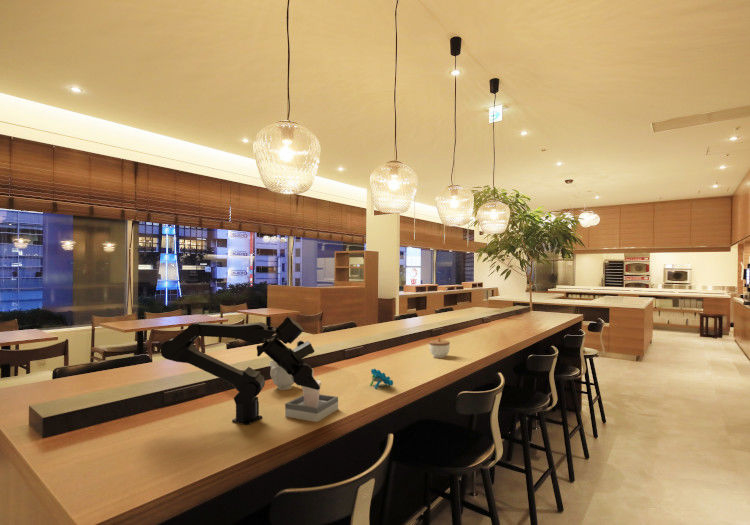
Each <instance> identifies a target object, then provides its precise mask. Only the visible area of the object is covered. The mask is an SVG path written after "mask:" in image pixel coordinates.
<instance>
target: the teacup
mask: <svg viewBox="0 0 750 525" xmlns="http://www.w3.org/2000/svg"><path fill="white" fill-rule="evenodd" d="M268 366H269V367H270V372H269V374H270V378H271V379H272V382H273V385H275V386H277V388H276V389H277V390H280V391H288V390H290V388H291V389H292V388H293V384H295V383H294V382H293V380H292V375H291V374H290V375H289V374H288V373H287V372H286V371H285V370H284V369H283V368H282V367H280V366H278V365H277V363H276V362H275V361H273V360H272V361H270V362H269V363H268Z"/></svg>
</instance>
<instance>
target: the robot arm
mask: <svg viewBox="0 0 750 525" xmlns="http://www.w3.org/2000/svg"><path fill="white" fill-rule="evenodd" d="M304 330H305V329H304V328H303V327H302V325H301V324H300V323H299V322H297V321H296V320H294V319H293V318H291V317H290V316H288V315H287V317H286V318H285V319H283V321H282V322H281V323H280V324H279V325H278V326H268V324H266V323H265V322H262V321H260V322H250V323H244V324H228V323H227V324H226V323H225V324H224V323H212V322H211V323H209V322H207V323H206V322H200V321H196V322H193V323H191V324H190V325H189V326H187V328H185V329H184V330H183V331H182V332H180V333H179V334H177V335H176V336H175V337H174V338H171V339H168V340H165V341H164V342H163V343H162V344H161V346H160V354H161V355H160V356H162V358H164V359H165V360H168V361H172V362H176V363H182V364H183V363H185V364H190V365H191V366H194V367H196V368H198V369H199V370H202V371H204V372H207V373H208V374H210V375H213V376H215V377H216V378H219V379H221V380H223V381H225V382H227V383H229V384H231V385H232V386H233V387H234V389H236V391H237V393H236V394H235V396H234V397H233V401H234V404H235V418H233V419H232V420H231V422H233V423H236V424H241V425H250V424H252V423H255V422H257V421H258V420H260V419H263V415H259V414H260V404H259V403H260V402H259V397H257V396H258V395H259V394H260V393H261V391H262V390H263V388H264V387H265V384H266V381H265V377H264V376H263V375H262V374H261V371H259V370H258V371H257V370H254V369H253V368H251V367H250V366H248V367H246V368H245V369H244V370H243V369H239V368H236V367H234V366H232V365H230V364H228V363H226V362H224V361H221V360H220V359H217V358H215V357H213V356H211V355H208V354H207V353H205V352H202V351H200V350H199V349H198V348H197V347H196V346H195V344H193V342H194V341H196V340H197V339H198V338H199V337H206V338H207V337H208V338H209V337H210V338H224V339H225V338H228V339H237V340H241V341H243V342H247V343H251V344H258V345H256V356H257V357H260V356H261V355H262V354H263V353H264V354H265V355H267V357H269V358H270V359H271V360H272V361H275V362H276V363H277V365H278V366H280V367H282V368H283V369H284V370H285V371H286V372H287V373H288V374H289V375H290V374H291V375H292V380H293V382H294V383H293V384H296V386H300V387H301V386H304V387H308V388H312V389H316V390H319V389H320V390H321V386H319V385H318V383H317V382H316V381H315V380H316V379H315V378H313V376H312V371H313V372H314V369H313V368H312V367H311V366H310V365H309V364H308V363H307V362H305V360H304V359H305V357H307V356H309V355H312V354H314V353H315V351H316V350H315V349H314V347H313V346H312V343H311V342H310V341H307V340H306V341H305V342H304V341H303V340H299V341H298V340H297V342H296V346H295V347H294V349H292V348H290V347H289V346H287V344H289V345H290V344H293V343H294V341H295V340H296V339H297V338H298V337H299V336H301V334H302V333H303V332H304ZM271 337H272V338H271ZM270 338H271V339H270ZM265 339H266V340H265ZM261 342H263V343H262V344H260V343H261ZM259 344H260V345H259ZM312 369H313V370H312Z"/></svg>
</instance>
